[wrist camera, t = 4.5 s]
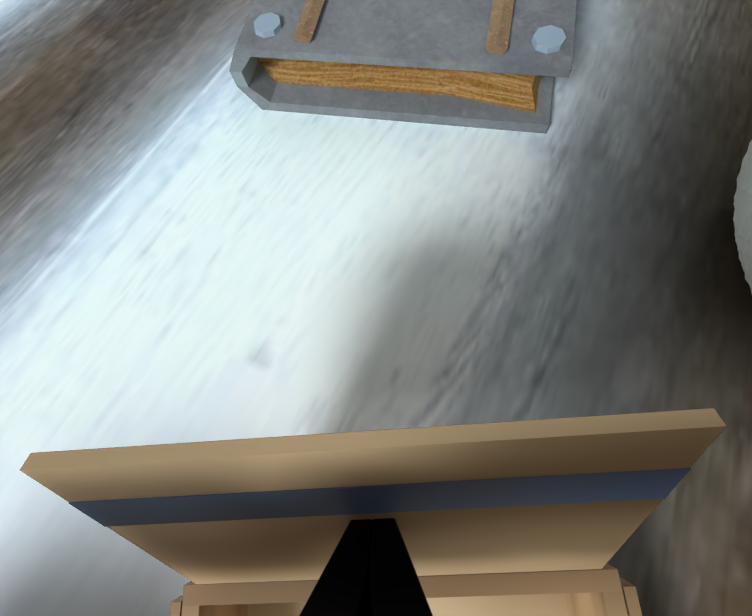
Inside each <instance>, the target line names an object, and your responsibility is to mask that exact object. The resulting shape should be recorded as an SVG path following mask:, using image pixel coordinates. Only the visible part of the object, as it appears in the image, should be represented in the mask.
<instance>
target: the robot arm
mask: <svg viewBox="0 0 752 616" xmlns="http://www.w3.org/2000/svg"><path fill="white" fill-rule="evenodd" d="M299 616H433V614H432V612H431V609H430V607H429V604H428V602H427V599H426V596H425V594H424V591H423V589H422V586H421V584H420V581H419V578H418V576H417V573H416V571H415V568H414V566H413V563H412V560H411V558H410V555H409V553H408V550H407V548H406V545H405V542H404V540H403V537H402V535H401V532H400V530H399V527H398V524H397V522H396V519H395V518H382V519H373V521H372V520H371V519H362V520H350V522H349V524H348V526H347V527H346V529H345V531H344V533H343V535H342V537H341V539H340V540H339V542H338V544H337V546H336V548H335V550H334V552H333V553H332V555H331V557H330V559H329V561H328V563H327V565H326V567H325V568H324V570H323V572H322V574H321V576H320V578H319V580H318V581H317V583H316V585H315V587H314V589H313V591H312V593H311V595H310V596H309V598H308V600H307V602H306V604H305V606H304V608H303V609H302V611H301V613H300V615H299Z"/></svg>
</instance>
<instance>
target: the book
mask: <svg viewBox="0 0 752 616" xmlns="http://www.w3.org/2000/svg"><path fill="white" fill-rule="evenodd" d="M576 4H577V0H254V3H253V5H252V8H251V10H250V12H249V15H248V17H247V20H246V22H245V24H244V27H243V29H242V32H241V34H240V37H239V39H238V41H237V44H236V46H235V49H234V54H233V58H232V63H231V67H230V73H231V75H232V77H233V79H234V81H235V83H236V85H237V87H238V88H240V89H241V90H242V91H243V92H244V93H245V94H246V95H247V96H248V97H249V98H251V99H252V100H253V101H254V102H255V103H256V104H257V105H258V106H259V107H260V108H261V109H263V110H274V111H286V112H298V113H310V114H322V115H333V116H345V117H357V118H369V119H381V120H393V121H405V122H417V123H429V124H441V125H453V126H464V127H476V128H488V129H500V130H512V131H524V132H536V133H546V132H547V130H548V127H549V123H550V111H551V100H552V89H553V77H554V76H556V77H569V75H570V72H571V70H572V60H573V46H574V32H575V18H576Z"/></svg>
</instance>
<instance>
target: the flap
mask: <svg viewBox="0 0 752 616" xmlns="http://www.w3.org/2000/svg"><path fill="white" fill-rule="evenodd" d="M725 427H726V425H725V423H724V422H723V421H722V419H721V418H720V416H719V415H718V414H717V412H716V411H715V409H714V408H710V409H694V410H679V411H664V412H649V413H633V414H618V415H603V416H588V417H572V418H557V419H542V420H527V421H511V422H496V423H481V424H466V425H450V426H435V427H420V428H405V429H389V430H374V431H359V432H344V433H328V434H313V435H298V436H283V437H267V438H252V439H237V440H222V441H206V442H191V443H176V444H160V445H145V446H130V447H115V448H99V449H84V450H69V451H54V452H38V453H31V454H30V455H29V457H28V458H27V460H26V461H25V463H24V464H23V466H22V467H21V469H20V471H22V472H23V473H25V474H26V475H28V476H30V477H31V478H33V479H34V480H36V481H37V482H39V483H40V484H42V485H43V486H45V487H47V488H48V489H50V490H51V491H53V492H54V493H56V494H57V495H59V496H60V497H62V498H64V499H65V500H67V501H68V502H69V504H71V505H72V506H74V507H75V508H77V509H78V510H80V511H81V512H83V513H85V514H86V515H88V516H89V517H91V518H92V519H94V520H95V521H97V522H99V523H100V524H102V525H103V526H105V527H108V528H110V529H112V530H113V531H115V532H116V533H118V534H119V535H121V536H122V537H124V538H125V539H127V540H129V541H130V542H132V543H133V544H135V545H136V546H138V547H139V548H141V549H143V550H144V551H146V552H147V553H149V554H150V555H152V556H153V557H155V558H156V559H158V560H160V561H161V562H163V563H164V564H166V565H167V566H169V567H170V568H172V569H173V570H175V571H177V572H178V573H180V574H181V575H183V576H184V577H186V578H187V579H189V580H190V581H192V582H194V583H195V584H214V583H241V582H268V581H295V580H319V578H320V576H321V574H322V572H323V570H324V568H325V567H326V565H327V563H328V561H329V559H330V557H331V555H332V553H333V552H334V550H335V548H336V546H337V544H338V542H339V540H340V539H341V537H342V535H343V533H344V531H345V529H346V527H347V526H348V524H349V522H350V520H362V519H371V520H372V521H373V519H382V518H395V519H396V522H397V524H398V527H399V530H400V532H401V535H402V537H403V540H404V542H405V545H406V548H407V550H408V553H409V555H410V558H411V560H412V563H413V566H414V568H415V571H416V573H417V576H428V575H455V574H481V573H508V572H535V571H561V570H588V569H602V568H603V567H604V566H605V564H606V563H607V562H608V561H609V560H610V559H611V558H612V556H613V555H614V554H615V553H616V552H617V551H618V550H619V548H620V547H621V546H622V545H623V544H624V543H625V542H626V540H627V539H628V538H629V537H630V536H631V535H632V534H633V532H634V531H635V530H636V529H637V528H638V527H639V526H640V524H641V523H642V522H643V521H644V520H645V519H646V518H647V516H648V515H649V514H650V513H651V512H652V511H653V510H654V508H655V507H656V506H657V505H658V504H659V503H660V502H661V500H662V499H665V498H666V496H667V495H668V494H669V493H670V492H671V491H672V490H673V489H674V487H675V486H676V485H677V484H678V483H679V482H680V481H681V479H682V478H683V477H684V476H685V475H686V474H687V473H688V472H689V470H690V467H691V466H692V465H693V464H694V463H695V462H696V460H697V459H698V458H699V457H700V456H701V455H702V454H703V452H704V451H705V450H706V449H707V448H708V447H709V446H710V444H711V443H712V442H713V441H714V440H715V439H716V438H717V436H718V435H719V434H720V433H721V432H722V431H723V430H724V428H725Z"/></svg>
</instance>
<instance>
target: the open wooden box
mask: <svg viewBox="0 0 752 616" xmlns="http://www.w3.org/2000/svg"><path fill="white" fill-rule="evenodd" d="M418 578H419V581H420V584H421V586H422V589H423V591H424V594H425V596H426V599H427V602H428V604H429V607H430V609H431V612H432V614H433V616H642V612H641V608H640V604H639V599H638V595H637V591H636V586H634V585H632V584H631V583H629V582H628V581H626V580H624V579H623V578H621V577H620V576H619V573H618V569H616V568H615V567H613V566H611V565H610V564H608V563H606V564H605V566H604V567H603V568H602V569H588V570H561V571H535V572H508V573H481V574H455V575H428V576H418ZM317 581H318V580H295V581H268V582H241V583H214V584H195V583H194V582H192V581H191V582H189V583H187V584H186V585H184V591H183V595H182V596H180V597H179V598H177V599H176V600H174V601H172V602H171V606H170V616H299V615H300V613H301V611H302V609H303V608H304V606H305V604H306V602H307V600H308V598H309V596H310V595H311V593H312V591H313V589H314V587H315V585H316V583H317Z"/></svg>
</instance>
